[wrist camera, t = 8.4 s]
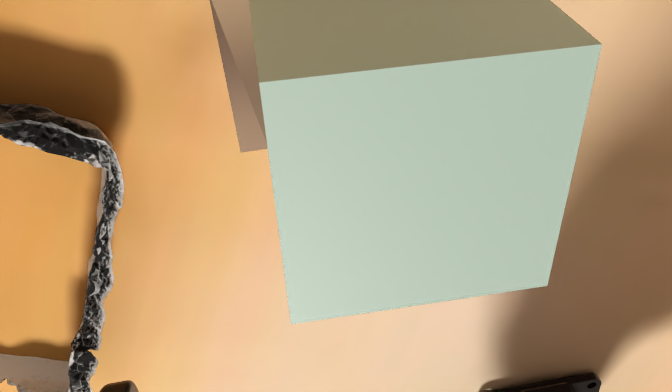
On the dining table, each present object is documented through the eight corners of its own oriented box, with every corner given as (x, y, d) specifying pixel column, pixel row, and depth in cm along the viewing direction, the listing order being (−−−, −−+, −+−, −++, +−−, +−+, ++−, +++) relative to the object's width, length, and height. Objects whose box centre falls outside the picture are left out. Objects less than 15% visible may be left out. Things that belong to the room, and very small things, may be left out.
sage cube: (465, 147, 16) (547, 285, 12) (271, 171, 16) (290, 324, 12) (485, -55, 13) (601, 44, 9) (244, -31, 13) (259, 82, 9)
